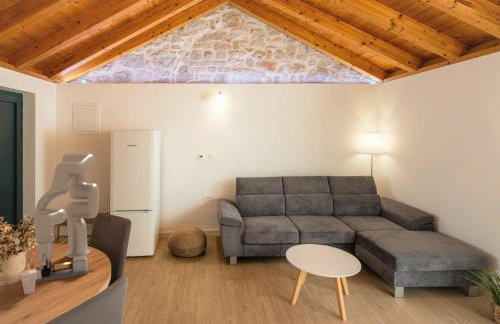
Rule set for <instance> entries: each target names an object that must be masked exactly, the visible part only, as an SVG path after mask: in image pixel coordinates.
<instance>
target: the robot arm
mask: <svg viewBox="0 0 500 324" xmlns="http://www.w3.org/2000/svg"><path fill="white" fill-rule="evenodd" d="M61 158H62V161H60V162H58V163H57V164H56V165H55V169H54V172H53V177H52V181H51V185H50V188H49V190H47V191H46V192H45V193H44V194H43V195H42V196H41V197H40V198H39V199H38V201H37V204H36V206H35V211H34V214H33V217H34V229H35V232H34V233H35V244H37V264H38V265H41V264H42V276H49V275H50V267H49V265H51V264H52V258H53V241H55V231H54V226H56V225H60V224H62V223H64V222H67V235H68V237H67V239H68V241H67V242H68V252H66V254H65V255H66V256H65V257H66V258H68V259H73V258H74V257H79V256H86V255H87V256H88V255H90V254H91V249H89V248H88V234H87V223H86V221H85V219H93V218H96V217H97V216H98V214H99V206H100V205H99V204H100V188H99V186H98V184H96V183H91V182H90V183H87V173H88V172H89V171H90V170H91V169H92V168H93V167H94V165H95V163H96V162H95V161H96V160H95V157H94V155H93V154H91V153H67V154H63V156H62V157H61ZM65 194H69V198H70V199H72V200H87V201H71V202H69V203H67V204H66V205H65V207H64V209H62V208H48V206H49V204H50V203H51V202H52V201H53V200H54V199H56V198H58V197H61V196H63V195H65Z"/></svg>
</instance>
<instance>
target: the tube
mask: <svg viewBox="0 0 500 324" xmlns="http://www.w3.org/2000/svg"><path fill="white" fill-rule="evenodd" d="M49 267H50V273H51V272H57V271H63V270H69V269H73V261H69V262H68V261H67V262H62V263H56V264H55V263H54V264H52V265H49ZM37 270H41V274H42V266H41V267H37Z"/></svg>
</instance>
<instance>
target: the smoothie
mask: <svg viewBox="0 0 500 324" xmlns="http://www.w3.org/2000/svg"><path fill="white" fill-rule="evenodd" d="M29 264H30V262H27V264H26V265H28V270H26V269H24V270H22V271H20V272H19V274H18V275H19V277H20V281H21V285H22V288H23V293H24V295H31V294H34V293H35V290H36V283H35V280H36V273H37V270H36V269H29Z"/></svg>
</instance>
